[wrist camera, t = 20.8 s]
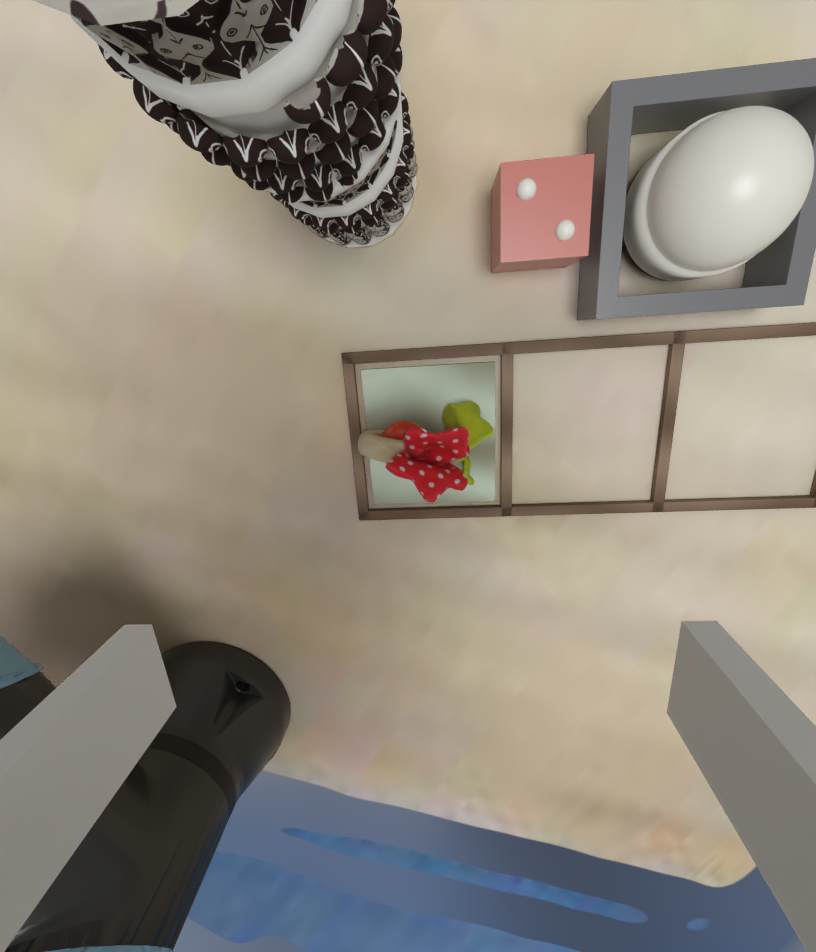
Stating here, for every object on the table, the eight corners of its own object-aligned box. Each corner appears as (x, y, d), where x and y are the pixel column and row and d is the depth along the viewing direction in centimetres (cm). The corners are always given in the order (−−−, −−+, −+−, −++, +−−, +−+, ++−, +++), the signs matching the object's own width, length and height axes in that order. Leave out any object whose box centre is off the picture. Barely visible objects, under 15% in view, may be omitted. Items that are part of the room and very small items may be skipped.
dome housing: (757, 308, 30) (825, 303, 24) (491, 326, 31) (501, 325, 26) (795, 93, 26) (885, 33, 21) (490, 126, 28) (502, 79, 22)
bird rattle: (401, 468, 37) (504, 484, 33) (317, 513, 28) (447, 543, 24) (400, 394, 35) (510, 402, 31) (310, 417, 26) (451, 432, 22)
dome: (739, 277, 28) (840, 259, 21) (613, 286, 29) (669, 272, 22) (763, 131, 26) (886, 55, 19) (624, 145, 27) (691, 77, 19)
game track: (818, 504, 34) (824, 507, 33) (360, 517, 37) (359, 520, 37) (865, 319, 29) (872, 319, 29) (342, 352, 33) (341, 353, 32)
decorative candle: (403, 70, 27) (130, -1751, 3) (437, 232, 30) (420, -145, 6) (268, 120, 28) (-602, -928, 5) (313, 270, 31) (-98, 83, 7)
